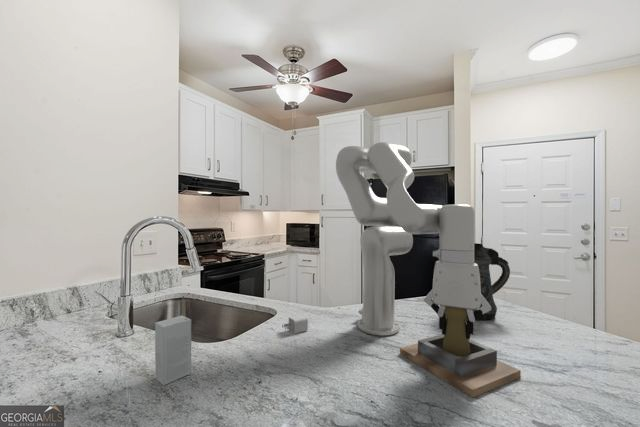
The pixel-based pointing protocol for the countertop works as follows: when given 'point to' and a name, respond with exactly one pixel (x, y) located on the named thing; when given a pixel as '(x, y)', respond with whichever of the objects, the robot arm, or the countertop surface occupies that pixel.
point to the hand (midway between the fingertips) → (456, 333)
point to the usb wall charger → (297, 324)
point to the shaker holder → (462, 365)
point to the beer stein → (483, 260)
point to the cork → (456, 332)
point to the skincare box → (172, 349)
